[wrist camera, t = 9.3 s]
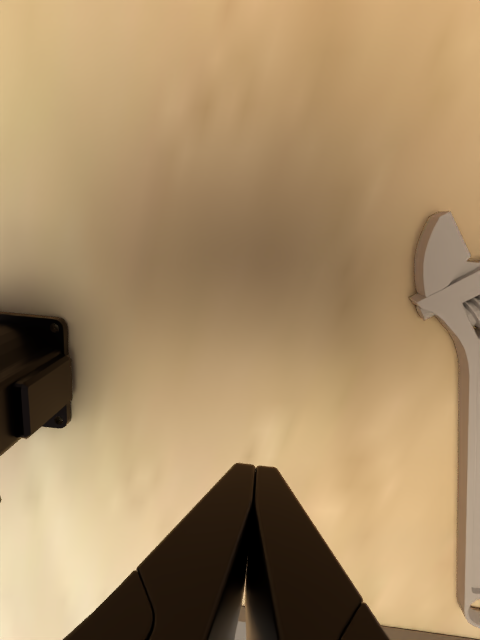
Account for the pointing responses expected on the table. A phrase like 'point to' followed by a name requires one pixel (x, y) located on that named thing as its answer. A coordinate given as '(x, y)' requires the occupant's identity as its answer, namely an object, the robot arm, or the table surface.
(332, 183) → the table surface
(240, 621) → the level stand
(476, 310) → the adjustable wrench
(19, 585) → the table surface
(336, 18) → the table surface
